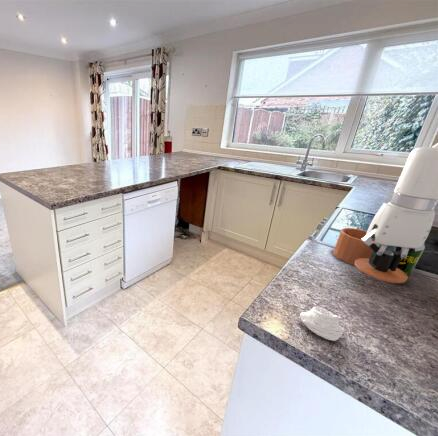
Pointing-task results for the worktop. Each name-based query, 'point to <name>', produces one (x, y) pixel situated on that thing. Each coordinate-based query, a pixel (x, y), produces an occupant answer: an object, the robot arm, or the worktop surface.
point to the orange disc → (382, 269)
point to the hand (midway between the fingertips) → (381, 266)
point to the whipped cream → (323, 323)
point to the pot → (352, 245)
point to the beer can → (409, 262)
